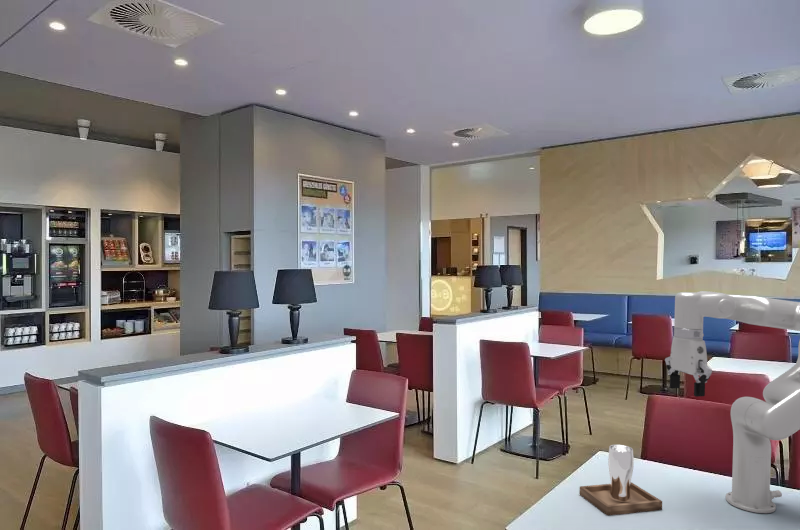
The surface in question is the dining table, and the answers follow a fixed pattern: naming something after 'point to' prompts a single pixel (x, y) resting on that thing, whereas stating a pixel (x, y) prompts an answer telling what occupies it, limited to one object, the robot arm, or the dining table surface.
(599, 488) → the walnut tray
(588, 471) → the dining table surface
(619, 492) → the beer glass
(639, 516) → the dining table surface
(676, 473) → the dining table surface
